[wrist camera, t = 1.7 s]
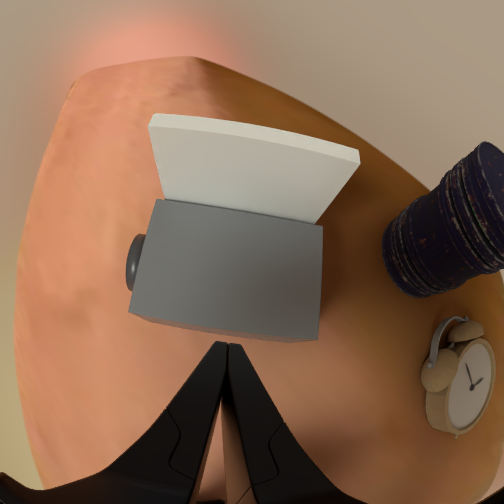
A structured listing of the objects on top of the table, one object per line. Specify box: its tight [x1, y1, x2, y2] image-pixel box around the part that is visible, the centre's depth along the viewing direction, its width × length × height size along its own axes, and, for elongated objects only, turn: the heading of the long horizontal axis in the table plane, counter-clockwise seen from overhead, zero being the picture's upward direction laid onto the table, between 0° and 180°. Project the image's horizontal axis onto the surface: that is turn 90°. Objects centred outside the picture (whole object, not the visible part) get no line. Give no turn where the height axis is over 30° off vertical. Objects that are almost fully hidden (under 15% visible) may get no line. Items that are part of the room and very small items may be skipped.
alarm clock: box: [420, 316, 496, 439], centre depth 21 cm, size 11×5×15 cm
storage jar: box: [382, 141, 504, 298], centre depth 20 cm, size 10×10×15 cm
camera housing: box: [126, 199, 323, 343], centre depth 20 cm, size 8×13×6 cm, turn 83°
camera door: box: [148, 113, 360, 224], centre depth 19 cm, size 2×11×12 cm, turn 83°
